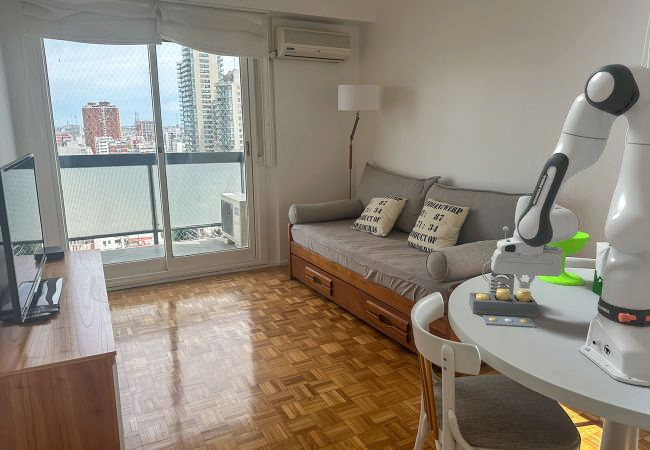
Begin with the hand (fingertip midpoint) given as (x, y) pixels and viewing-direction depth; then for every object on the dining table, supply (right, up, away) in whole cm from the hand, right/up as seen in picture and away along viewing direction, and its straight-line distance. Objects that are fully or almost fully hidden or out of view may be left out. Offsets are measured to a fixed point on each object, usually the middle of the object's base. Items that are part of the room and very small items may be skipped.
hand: (523, 287), depth 142 cm
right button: (0, -4, +1) cm, 4 cm away
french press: (-3, -5, +14) cm, 15 cm away
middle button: (-6, -4, +2) cm, 7 cm away
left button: (-12, -6, +3) cm, 14 cm away
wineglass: (+29, -1, +32) cm, 43 cm away
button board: (-7, -8, -2) cm, 11 cm away
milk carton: (+36, -5, +15) cm, 39 cm away
